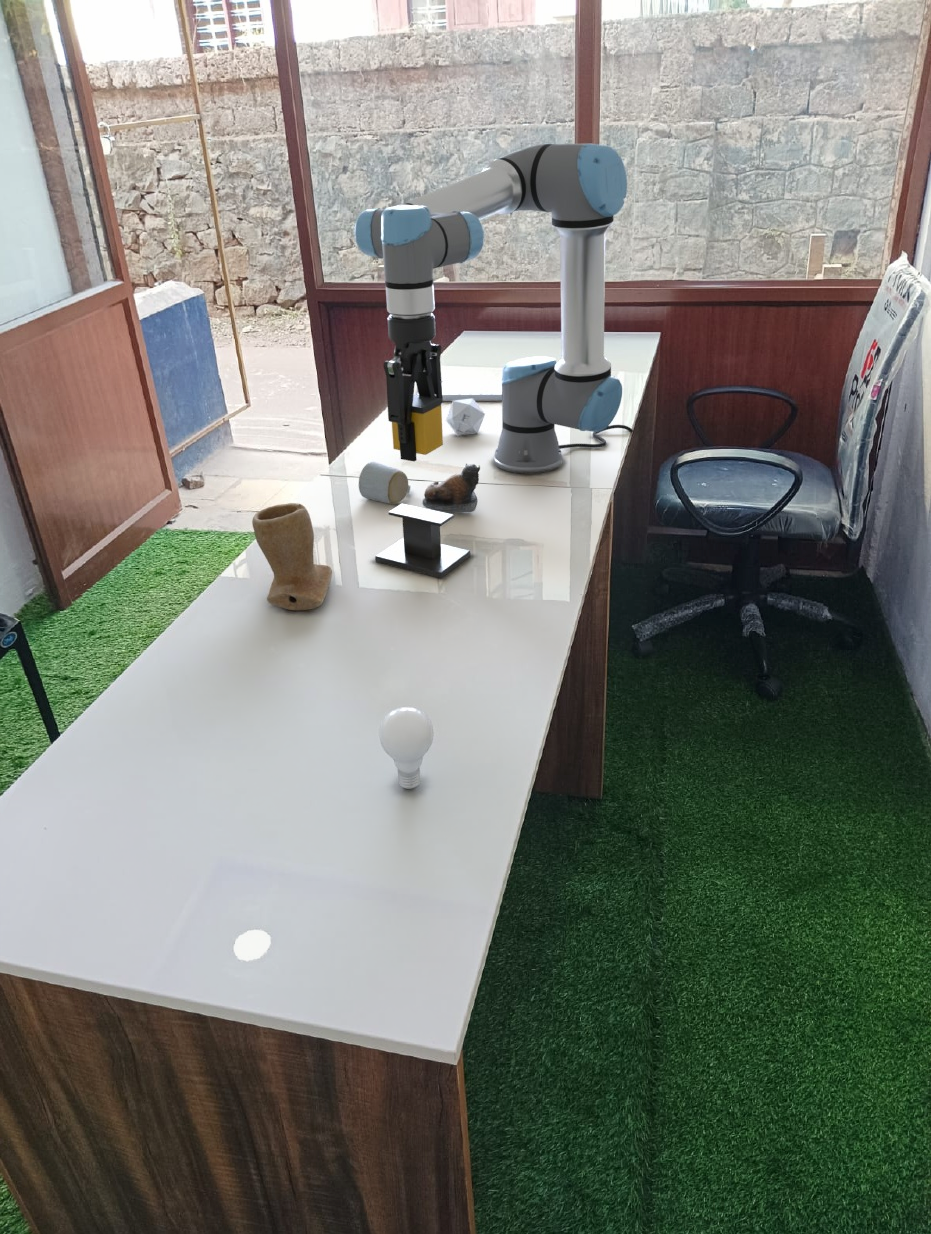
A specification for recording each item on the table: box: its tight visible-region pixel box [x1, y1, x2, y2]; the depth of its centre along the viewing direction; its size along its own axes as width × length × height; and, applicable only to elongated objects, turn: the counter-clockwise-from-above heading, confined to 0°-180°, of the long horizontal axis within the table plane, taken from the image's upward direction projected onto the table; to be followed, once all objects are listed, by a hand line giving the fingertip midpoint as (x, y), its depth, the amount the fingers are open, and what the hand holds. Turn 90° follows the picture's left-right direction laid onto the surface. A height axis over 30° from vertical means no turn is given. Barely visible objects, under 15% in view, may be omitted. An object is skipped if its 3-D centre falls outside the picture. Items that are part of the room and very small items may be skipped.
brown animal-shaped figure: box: [421, 463, 481, 513], centre depth 182 cm, size 12×7×10 cm, turn 72°
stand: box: [374, 503, 471, 579], centre depth 163 cm, size 10×14×9 cm
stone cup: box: [251, 502, 333, 611], centre depth 152 cm, size 15×12×15 cm
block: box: [391, 394, 444, 456], centre depth 153 cm, size 6×6×8 cm
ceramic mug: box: [358, 461, 411, 505], centre depth 189 cm, size 11×8×8 cm
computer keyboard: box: [416, 380, 502, 402], centre depth 258 cm, size 43×19×2 cm, turn 85°
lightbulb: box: [378, 706, 434, 790], centre depth 108 cm, size 6×6×11 cm
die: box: [445, 398, 486, 437], centre depth 225 cm, size 8×9×10 cm
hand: (418, 453), depth 156 cm, fingers closed on block, 5 cm apart
